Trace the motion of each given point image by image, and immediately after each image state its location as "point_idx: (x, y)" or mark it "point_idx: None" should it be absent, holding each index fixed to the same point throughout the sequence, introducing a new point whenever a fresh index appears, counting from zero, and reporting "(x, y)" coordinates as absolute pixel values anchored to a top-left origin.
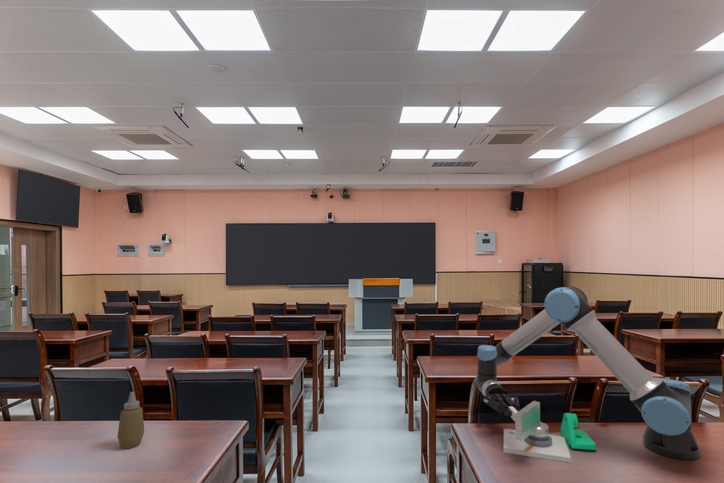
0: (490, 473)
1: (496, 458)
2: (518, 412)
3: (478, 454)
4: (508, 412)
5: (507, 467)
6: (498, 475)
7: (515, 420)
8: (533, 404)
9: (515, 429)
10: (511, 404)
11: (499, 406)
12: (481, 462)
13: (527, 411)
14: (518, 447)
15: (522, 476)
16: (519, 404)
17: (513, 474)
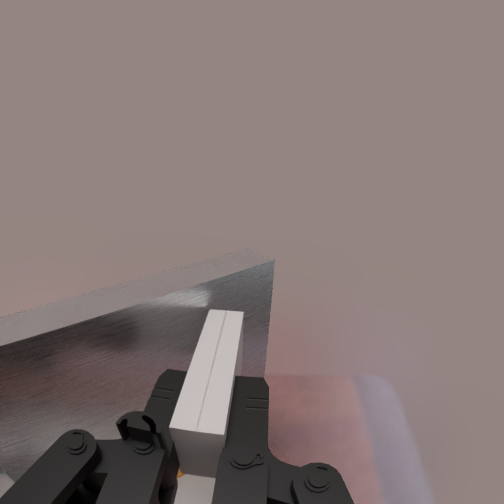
0: (364, 385)
1: (329, 463)
2: (243, 266)
3: (397, 481)
4: (265, 386)
5: (303, 412)
6: (343, 378)
7: (270, 296)
8: (10, 324)
9: (267, 339)
10: (133, 494)
11: (330, 471)
12: (388, 433)
13: (167, 272)
14: (201, 497)
15: (273, 374)
16: (36, 462)
17: (297, 382)
